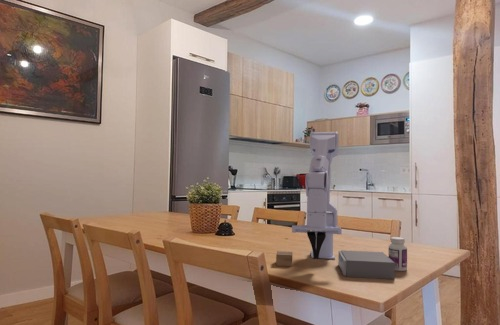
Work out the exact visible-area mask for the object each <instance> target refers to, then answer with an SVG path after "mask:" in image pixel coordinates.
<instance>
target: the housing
mask: <svg viewBox="0 0 500 325" xmlns="http://www.w3.org/2000/svg"><path fill="white" fill-rule="evenodd" d="M340 251H341V252H342V254H343V256H344V257H345V259H346V261H347V272H346V276H345V277H348V278H362V279H363V278H365V279H382V280H383V279H384V280H385V279H386V280H395V279H396V277H395V276H396V275H395V274H396V273H395V263H394V262H393V261H392V260H391V259H390V258H389V255H387V254H386V253H384V252H383V251H364V250H363V251H362V250H343V249H341V250H340Z"/></svg>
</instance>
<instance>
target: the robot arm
mask: <svg viewBox="0 0 500 325" xmlns="http://www.w3.org/2000/svg"><path fill="white" fill-rule="evenodd" d="M339 138H340V137H339V132H338V131H316V132H315V131H311V132H310V134H309V143H308V144H309V149H310V152H311V156H313V157H312V158H311V160H310V165H309V170H308V173H306V174H305V180H304V181H305V195H306V197H307V198H306V224H305V225H303V224H302V225H301V224H300V225H298V224H297V225H295V224H294V225H291V233H292V234H294V233H301V234H302V233H304V234H305V233H306V234H307V237H308V240H309V243H310V245H311V249H312V250H310V255H311V258H312V259H329V260H330V259H331V260H335V259H336V256H335V255H334V235H342V232H343V231H342V227H341V226H338V209H337V207H335V205H333V204H332V203H331V202H330V198H331V194H330V193H331V170H332V169H331V164H332V161H333V158H336V157H337V156H338V152H339V142H340V141H339Z"/></svg>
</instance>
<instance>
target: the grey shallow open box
mask: <svg viewBox="0 0 500 325" xmlns="http://www.w3.org/2000/svg"><path fill="white" fill-rule="evenodd" d="M337 263H338V266H339V268H340V270H341V273H342V274H343V276H345V277H347V276H346V272H347V261H346V259H345V257H344V256H343V254H342V252H341V250H338V261H337Z"/></svg>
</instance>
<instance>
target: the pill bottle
mask: <svg viewBox="0 0 500 325" xmlns="http://www.w3.org/2000/svg"><path fill="white" fill-rule="evenodd" d="M390 242H391V243H389V245H388V257H389V258H390V259H391V260H392V261H393V262H394V263H395V271H396V272H405V271H407V270H408V247H407V245H406V244H405V242H406V239H405V238H404V237H400V236H399V237H398V236H392V237H390Z"/></svg>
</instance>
